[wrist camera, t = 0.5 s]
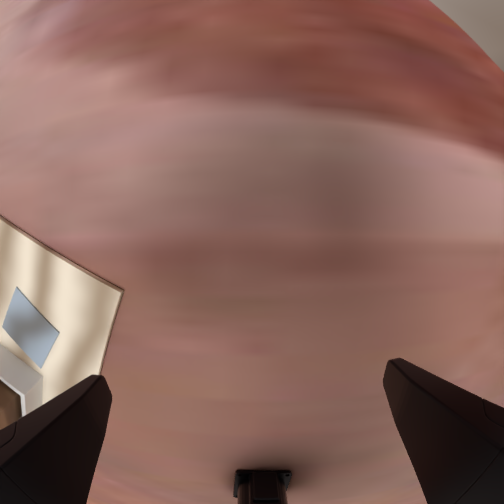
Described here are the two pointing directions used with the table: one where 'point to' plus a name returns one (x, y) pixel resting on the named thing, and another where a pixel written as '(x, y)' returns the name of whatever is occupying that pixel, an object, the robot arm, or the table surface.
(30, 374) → the sleeve
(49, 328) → the board
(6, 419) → the walnut block
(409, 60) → the table surface
